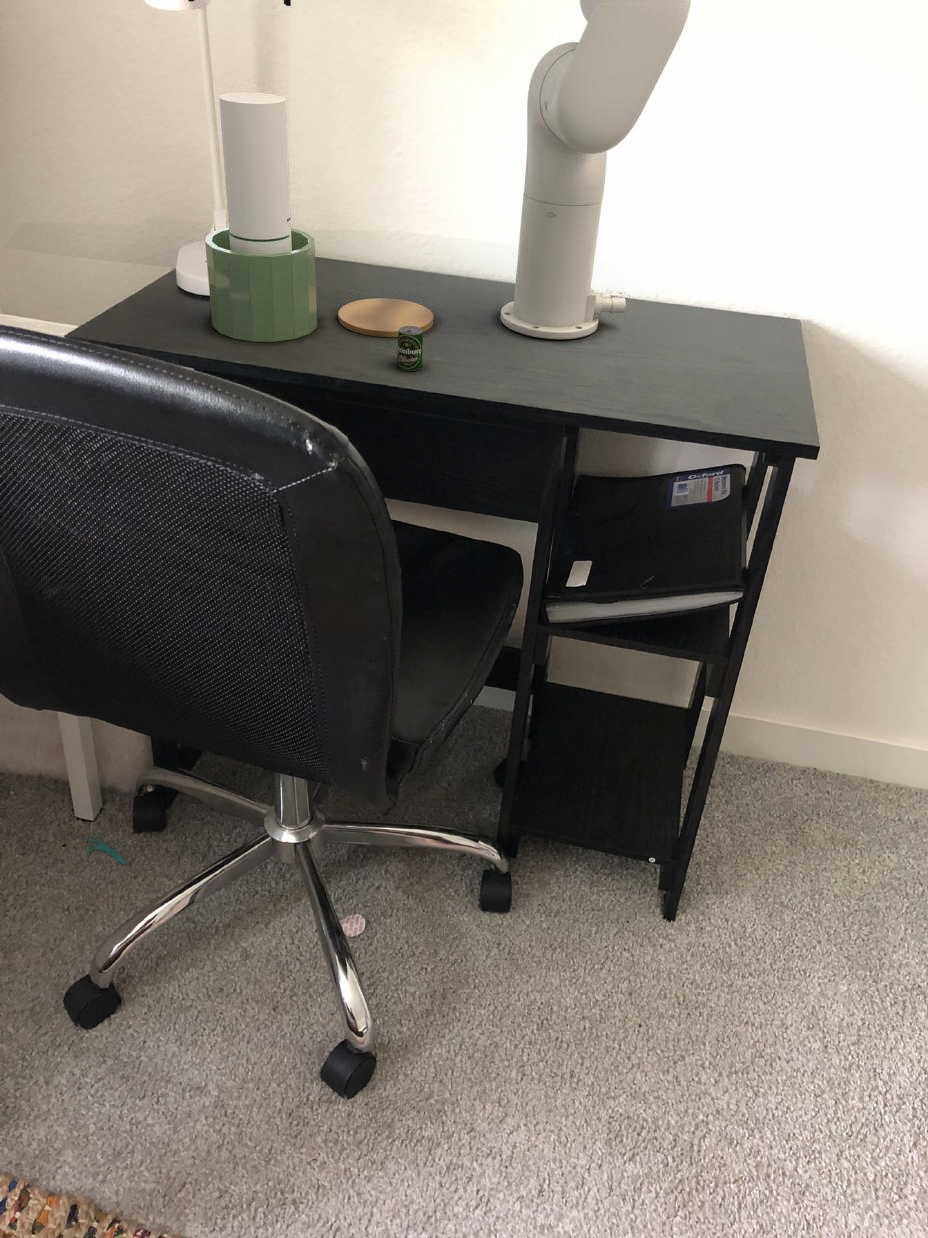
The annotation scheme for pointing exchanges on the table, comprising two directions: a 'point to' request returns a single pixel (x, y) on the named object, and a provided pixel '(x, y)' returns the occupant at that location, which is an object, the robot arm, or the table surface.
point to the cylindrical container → (256, 172)
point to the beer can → (410, 348)
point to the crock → (262, 289)
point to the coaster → (384, 316)
